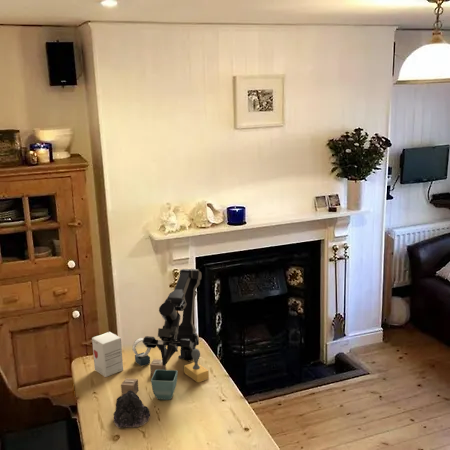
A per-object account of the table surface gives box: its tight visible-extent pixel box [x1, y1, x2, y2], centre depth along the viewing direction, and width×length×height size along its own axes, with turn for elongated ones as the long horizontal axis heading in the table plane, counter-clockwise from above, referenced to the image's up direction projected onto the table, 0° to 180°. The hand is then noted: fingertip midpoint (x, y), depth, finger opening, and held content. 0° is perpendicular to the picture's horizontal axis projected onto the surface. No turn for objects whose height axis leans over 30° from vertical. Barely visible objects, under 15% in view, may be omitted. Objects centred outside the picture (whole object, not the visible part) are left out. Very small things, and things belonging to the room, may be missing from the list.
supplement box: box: [91, 331, 124, 378], centre depth 239 cm, size 9×9×15 cm
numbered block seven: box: [149, 358, 167, 377], centre depth 236 cm, size 5×5×5 cm
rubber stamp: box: [183, 348, 210, 383], centre depth 233 cm, size 10×6×12 cm, turn 36°
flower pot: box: [150, 369, 179, 401], centre depth 218 cm, size 9×9×9 cm
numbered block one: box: [120, 377, 140, 396], centre depth 221 cm, size 5×5×5 cm
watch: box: [132, 337, 152, 367], centre depth 245 cm, size 6×8×11 cm
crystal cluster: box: [113, 390, 151, 428], centre depth 204 cm, size 13×14×10 cm
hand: (164, 365), depth 216 cm, fingers closed
